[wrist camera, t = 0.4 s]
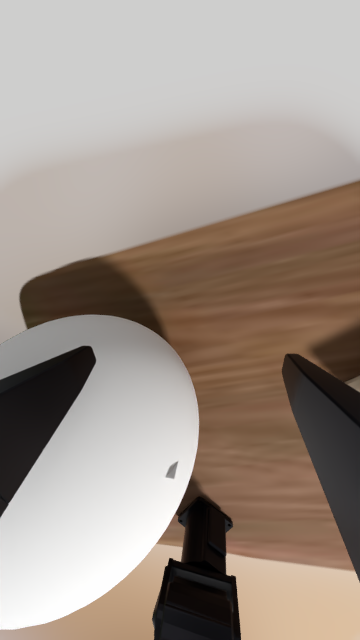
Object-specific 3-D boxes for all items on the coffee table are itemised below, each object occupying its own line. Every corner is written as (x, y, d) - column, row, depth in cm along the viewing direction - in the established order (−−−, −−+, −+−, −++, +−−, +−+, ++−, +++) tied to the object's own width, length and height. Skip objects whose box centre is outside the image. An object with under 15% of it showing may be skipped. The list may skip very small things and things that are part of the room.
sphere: (205, 304, 23) (148, 392, 4) (205, 438, 26) (174, 857, 7) (74, 305, 27) (-294, 348, 7) (88, 421, 30) (-140, 657, 11)
